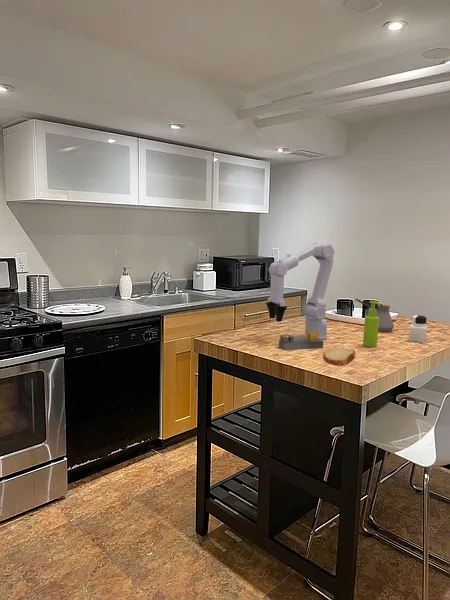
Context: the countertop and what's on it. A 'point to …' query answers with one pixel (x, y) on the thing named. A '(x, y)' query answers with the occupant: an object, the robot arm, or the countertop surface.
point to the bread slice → (338, 356)
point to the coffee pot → (382, 317)
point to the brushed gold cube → (312, 335)
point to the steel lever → (298, 337)
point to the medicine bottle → (418, 329)
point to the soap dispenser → (371, 326)
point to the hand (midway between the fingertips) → (275, 319)
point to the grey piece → (298, 344)
